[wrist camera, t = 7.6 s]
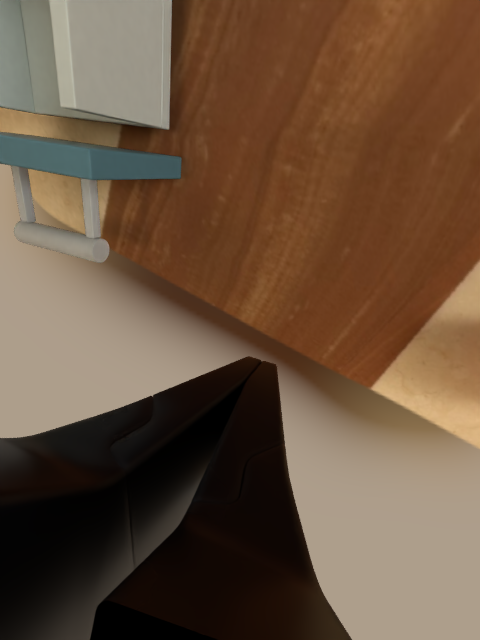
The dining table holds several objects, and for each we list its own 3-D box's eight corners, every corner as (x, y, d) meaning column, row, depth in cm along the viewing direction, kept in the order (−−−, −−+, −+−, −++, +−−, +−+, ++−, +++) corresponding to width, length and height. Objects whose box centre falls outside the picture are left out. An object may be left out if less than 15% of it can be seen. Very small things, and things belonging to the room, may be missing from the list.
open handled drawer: (178, 257, 22) (99, 289, 16) (49, 226, 25) (-60, 242, 19) (194, -167, 14) (42, -455, 7) (-2, -135, 17) (-225, -320, 11)
